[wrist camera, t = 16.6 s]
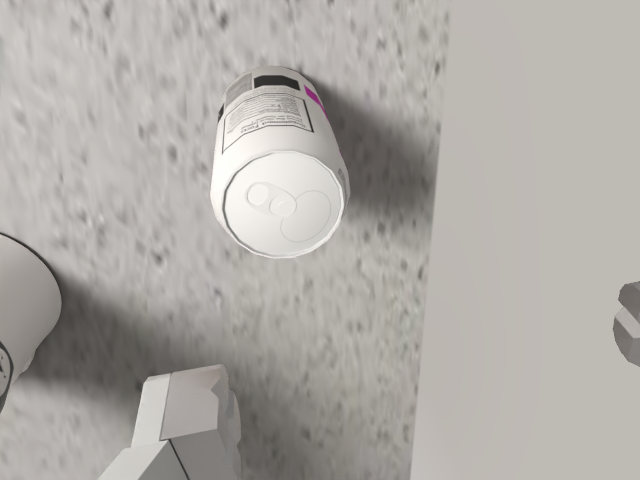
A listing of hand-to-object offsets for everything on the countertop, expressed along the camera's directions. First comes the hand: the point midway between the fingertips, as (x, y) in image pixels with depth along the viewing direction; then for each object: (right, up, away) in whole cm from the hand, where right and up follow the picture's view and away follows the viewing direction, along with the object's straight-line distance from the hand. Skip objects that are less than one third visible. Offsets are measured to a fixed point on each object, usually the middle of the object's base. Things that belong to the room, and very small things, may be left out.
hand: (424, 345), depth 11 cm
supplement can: (-6, +12, +32) cm, 35 cm away
